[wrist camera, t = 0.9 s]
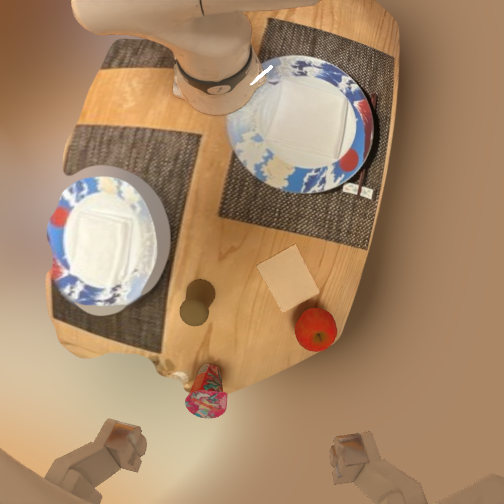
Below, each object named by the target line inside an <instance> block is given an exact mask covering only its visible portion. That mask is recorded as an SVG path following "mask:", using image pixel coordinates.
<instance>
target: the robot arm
mask: <svg viewBox="0 0 504 504" xmlns="http://www.w3.org/2000/svg"><path fill="white" fill-rule="evenodd" d="M320 1H321V0H71V5H72V10H73V14H74V16H75V18H76V19H77V21H78V22H79V24H80V25H81V26H83V27H84V28H85V29H86V30H88V31H90V32H91V33H94V34H96V35H114V34H115V35H117V34H118V35H131V36H137V37H141V38H145V39H148V40H151V41H154V42H157V43H159V44H162V45H164V46H166V47H167V48H169V49H170V50H171V51H172V52H173V53H174V59H176V62H177V63H176V65H174V71H175V75H174V82H173V89H172V91H173V94H174V95H175V96H176V97H178V98H181V99H184V100H186V101H187V102H188V103H189V104H190V105H191V106H192V107H194V108H195V109H196V110H198V111H200V112H202V113H205V114H209V115H225V114H229V113H232V112H235V111H237V110H238V109H240V108H242V107H243V106H244V105H245V104H246V103H247V102H248V101H249V100H250V99H251V97H252V95H253V93H254V92H255V90H256V89H257V88H259V87H260V86H261V85H263V84H264V83H265V82H266V75H265V73H267V72H268V71H269V70H270V69H271V68H272V66H270V67H269V68H267V69H266V70H265V71H264V70H263V68H262V66H261V64H260V61H259V59H258V57H257V55H256V53H255V50H254V48H253V46H252V44H251V35H252V26H251V23H250V20H249V19H248V17H247V16H246V14H245V13H244V12H245V11H272V10H280V9H289V8H297V7H305V6H313V5H316V4H317V3H319V2H320ZM259 73H260V75H259ZM177 86H178V87H177ZM141 432H142V430H141V428H140V427H139V426H135V425H131V424H127V423H123V422H120V421H116V420H112V419H107V420H106V422H105V423H104V425H103V427H102V428H101V430H100V432H99V434H98V436H97V437H96V439H95V441H94V443H92V442H90V443H88V444H86V445H85V446H82V447H80V448H78V449H76V450H74V451H72V452H70V453H68V454H66V455H64V456H62V457H60V458H58V459H56V460H55V461H54V463H53V464H52V466H51V467H50V469H49V471H48V473H47V474H46V476H45V478H43V477H41V476H40V475H38V474H36V473H35V472H33V471H32V470H30V469H29V468H27V467H26V466H24V465H23V464H21V463H20V462H18V461H17V460H16V459H14V458H13V457H11V456H10V455H9V454H7V453H6V452H5V451H4V450H2V449H1V448H0V504H100V502H101V499H102V495H101V494H100V493H99V492H98V491H97V490H96V489H95V487H97V486H98V485H99V484H101V483H102V482H104V481H105V480H106V479H108V478H109V477H111V476H112V475H113V474H115V473H116V472H117V471H119V470H120V469H121V468H123V469H126V470H130V471H134V472H138V470H139V467H140V465H141V462H142V461H141V459H140V457H141V456H143V455H144V454H145V451H146V447H147V442H146V438H145V437H144V436H143V435H142V434H141ZM330 463H331V466H333V467H334V470H333V472H332V475H333V480H334V484H335V485H336V484H343V483H349V482H353V483H354V484H355V485H356V486H357V487H358V488H359V489H360V490H361V491H362V492H363V493H364V494H365V495H367V497H369V498H370V499H371V500H372V501H373V502H374V503H375V504H428V503H427V500H426V497H425V495H424V492H423V490H422V486H421V484H420V483H419V482H417V481H416V480H414V479H413V478H411V477H410V476H408V475H407V474H405V473H404V472H402V471H401V470H399V469H398V468H396V467H395V466H393V465H392V464H390V463H389V462H387V461H386V460H385V459H383V460H381V458H380V455H379V452H378V449H377V446H376V443H375V440H374V437H373V435H372V433H371V432H370V431H368V432H363V433H356V434H350V435H344V436H337V437H335V439H334V445H333V446H332V447H331V450H330ZM433 504H504V477H501V476H498V475H495V474H489V475H487V476H485V477H483V478H481V479H480V480H478V481H476V482H474V483H473V484H471V485H469V486H467V487H466V488H464V489H462V490H460V491H458V492H456V493H454V494H452V495H450V496H448V497H446V498H444V499H442V500H439V501H437V502H435V503H433Z"/></svg>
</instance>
